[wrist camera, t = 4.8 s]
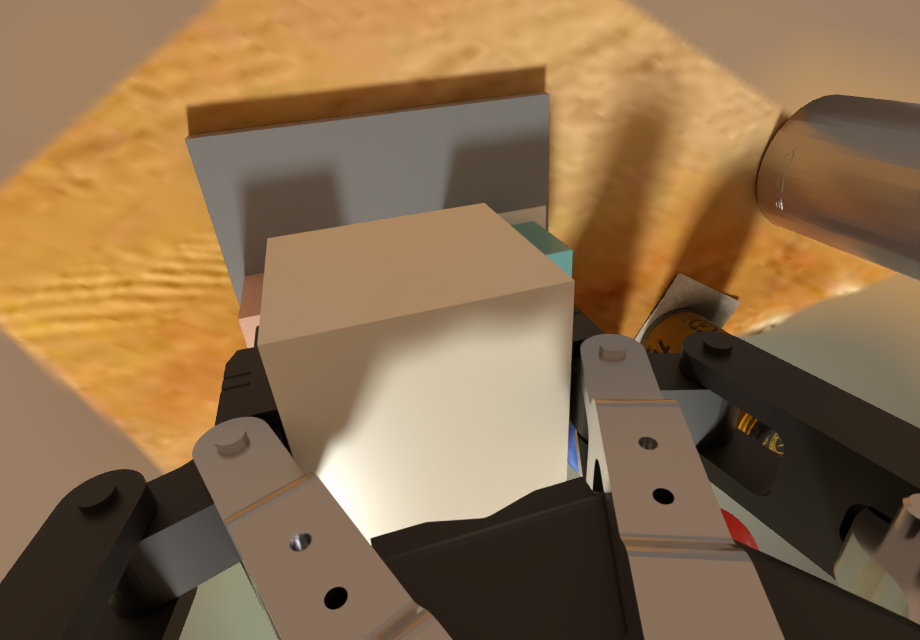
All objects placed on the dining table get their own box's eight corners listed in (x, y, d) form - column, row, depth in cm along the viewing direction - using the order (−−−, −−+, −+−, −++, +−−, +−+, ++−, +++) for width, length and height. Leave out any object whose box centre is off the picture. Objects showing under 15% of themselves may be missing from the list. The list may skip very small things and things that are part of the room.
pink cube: (330, 260, 29) (339, 299, 25) (345, 330, 31) (356, 376, 27) (244, 276, 28) (238, 319, 24) (266, 347, 30) (264, 398, 26)
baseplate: (539, 91, 29) (550, 93, 28) (539, 321, 37) (547, 330, 36) (188, 135, 25) (184, 139, 24) (268, 383, 33) (268, 395, 32)
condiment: (616, 365, 41) (726, 472, 31) (677, 271, 38) (818, 355, 28) (677, 385, 44) (794, 488, 34) (737, 300, 42) (883, 385, 32)
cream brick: (484, 202, 13) (574, 280, 9) (492, 372, 16) (565, 493, 12) (267, 238, 12) (257, 345, 8) (316, 414, 15) (327, 564, 11)
